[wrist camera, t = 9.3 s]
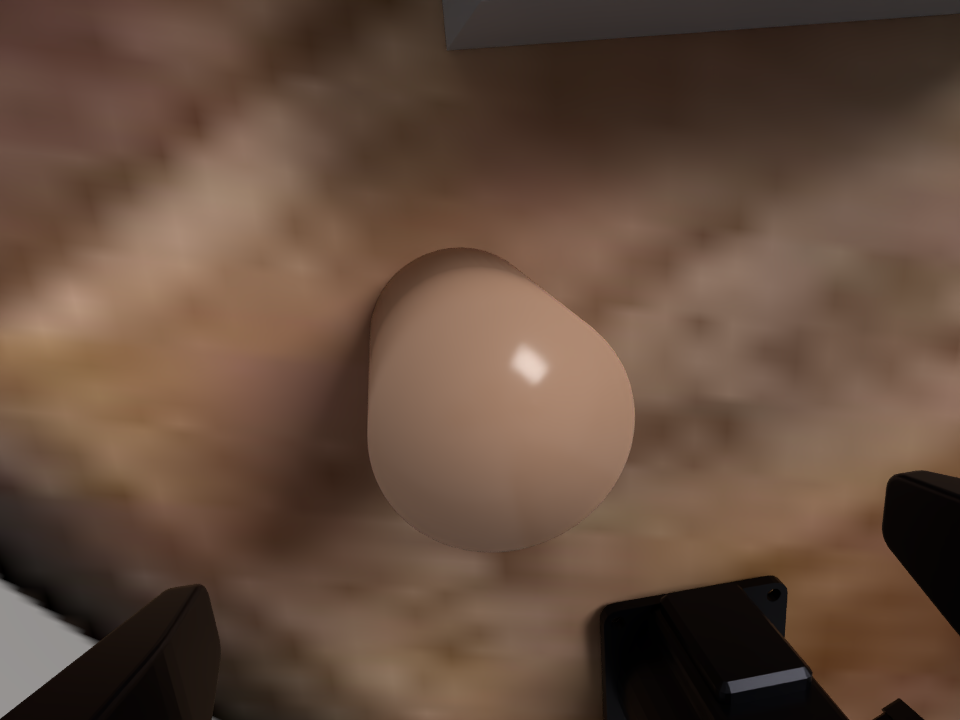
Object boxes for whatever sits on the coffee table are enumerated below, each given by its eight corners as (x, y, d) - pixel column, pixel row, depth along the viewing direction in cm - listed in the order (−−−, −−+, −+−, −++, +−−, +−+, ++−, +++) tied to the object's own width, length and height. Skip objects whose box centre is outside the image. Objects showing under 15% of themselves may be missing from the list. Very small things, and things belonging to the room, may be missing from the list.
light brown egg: (549, 405, 20) (636, 530, 13) (382, 429, 19) (386, 571, 13) (539, 238, 18) (632, 284, 12) (357, 258, 18) (347, 318, 11)
